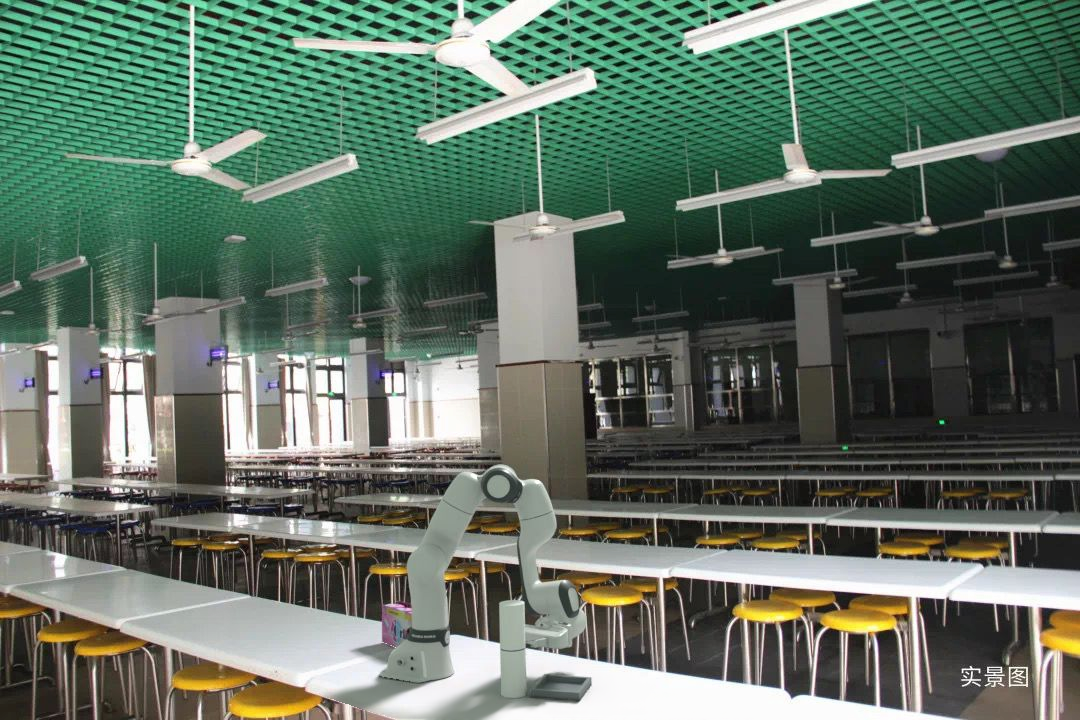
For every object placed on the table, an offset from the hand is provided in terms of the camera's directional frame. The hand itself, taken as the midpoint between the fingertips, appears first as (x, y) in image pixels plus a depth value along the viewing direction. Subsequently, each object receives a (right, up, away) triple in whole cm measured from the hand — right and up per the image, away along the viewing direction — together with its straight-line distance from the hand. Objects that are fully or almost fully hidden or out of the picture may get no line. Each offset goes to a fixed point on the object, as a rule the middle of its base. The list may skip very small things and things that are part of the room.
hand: (519, 642), depth 232 cm
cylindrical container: (-1, -13, -4) cm, 14 cm away
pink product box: (-40, -19, +48) cm, 65 cm away
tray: (+12, -13, -2) cm, 18 cm away
